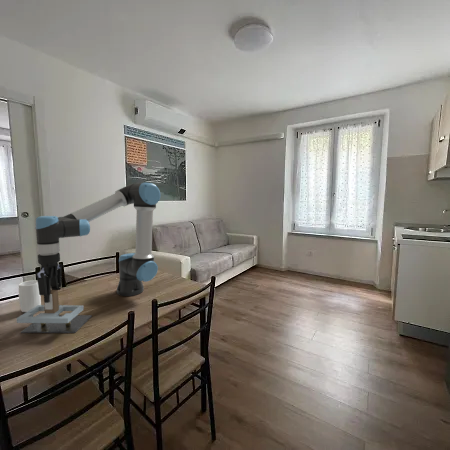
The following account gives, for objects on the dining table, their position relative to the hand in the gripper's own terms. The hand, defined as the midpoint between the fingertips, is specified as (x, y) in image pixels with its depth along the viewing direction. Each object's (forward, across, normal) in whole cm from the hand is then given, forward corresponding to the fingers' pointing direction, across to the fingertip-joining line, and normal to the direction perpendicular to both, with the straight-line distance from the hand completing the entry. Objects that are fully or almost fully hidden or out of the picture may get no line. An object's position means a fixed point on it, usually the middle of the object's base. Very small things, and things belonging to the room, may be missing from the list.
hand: (51, 306), depth 104 cm
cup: (+10, -17, -21) cm, 29 cm away
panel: (+4, 0, 0) cm, 4 cm away
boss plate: (+10, -4, 0) cm, 10 cm away
